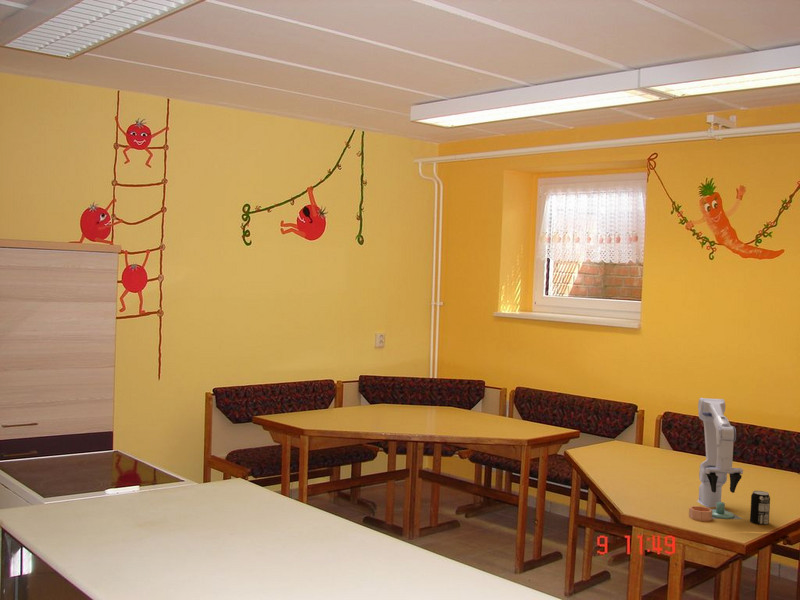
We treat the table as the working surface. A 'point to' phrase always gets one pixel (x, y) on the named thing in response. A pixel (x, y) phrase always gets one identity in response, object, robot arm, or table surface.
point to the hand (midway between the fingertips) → (722, 492)
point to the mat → (731, 518)
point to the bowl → (700, 513)
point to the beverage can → (760, 507)
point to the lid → (721, 512)
